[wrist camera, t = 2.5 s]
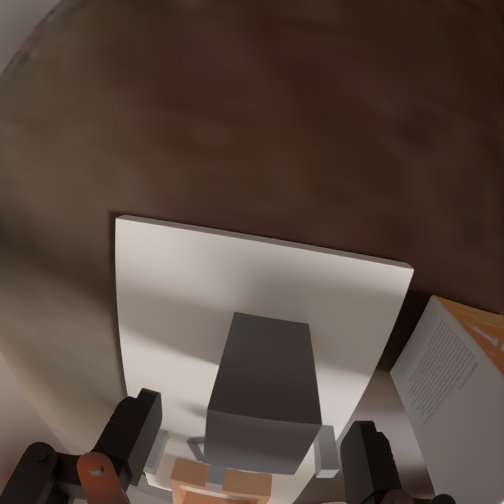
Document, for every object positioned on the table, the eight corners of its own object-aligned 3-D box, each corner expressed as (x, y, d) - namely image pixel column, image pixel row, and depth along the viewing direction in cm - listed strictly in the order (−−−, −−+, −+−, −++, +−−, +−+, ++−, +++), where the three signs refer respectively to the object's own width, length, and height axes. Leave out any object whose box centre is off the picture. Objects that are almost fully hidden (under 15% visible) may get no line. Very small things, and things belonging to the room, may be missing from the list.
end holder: (272, 474, 21) (270, 496, 18) (256, 504, 23) (254, 522, 21) (176, 457, 21) (169, 478, 19) (179, 491, 24) (174, 508, 21)
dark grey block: (308, 323, 15) (322, 424, 9) (292, 377, 17) (294, 475, 10) (234, 311, 16) (207, 409, 9) (226, 367, 17) (202, 462, 10)
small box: (502, 313, 15) (602, 422, 3) (462, 380, 17) (527, 501, 5) (430, 290, 15) (558, 452, 3) (386, 372, 17) (443, 542, 5)
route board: (407, 263, 15) (449, 303, 10) (288, 502, 24) (286, 536, 20) (124, 214, 15) (71, 238, 11) (150, 478, 25) (139, 510, 20)
